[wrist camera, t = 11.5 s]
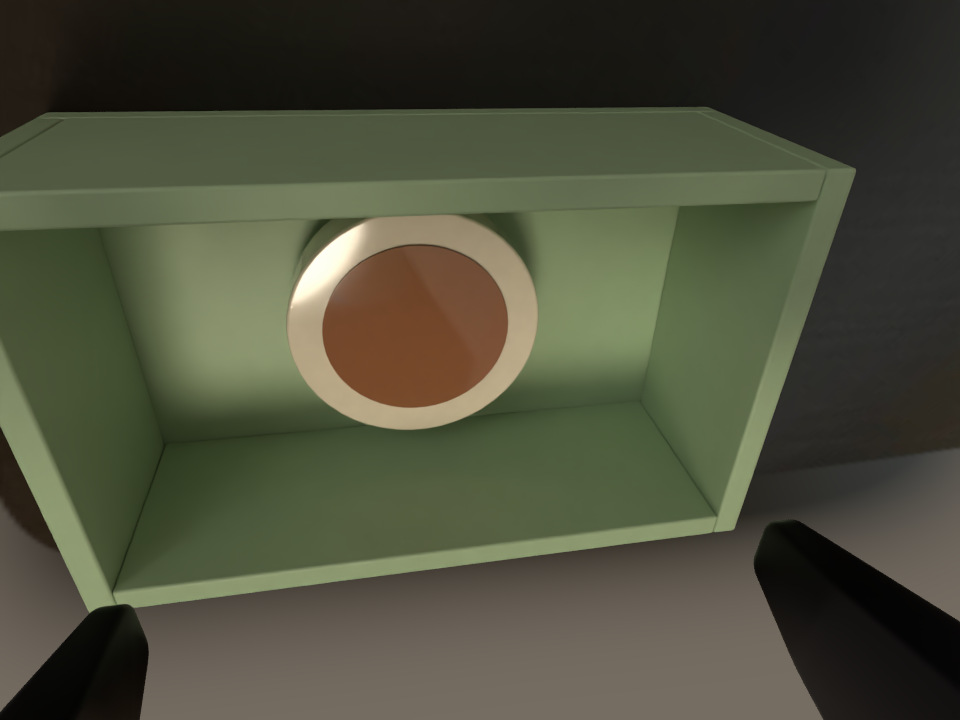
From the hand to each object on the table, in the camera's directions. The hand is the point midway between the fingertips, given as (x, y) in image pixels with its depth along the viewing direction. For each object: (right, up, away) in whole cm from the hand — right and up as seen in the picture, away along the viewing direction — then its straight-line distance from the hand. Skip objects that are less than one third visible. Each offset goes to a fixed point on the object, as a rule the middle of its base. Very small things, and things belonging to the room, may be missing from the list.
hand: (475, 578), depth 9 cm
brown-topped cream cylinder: (-2, +5, +8) cm, 9 cm away
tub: (-2, +5, +8) cm, 10 cm away
